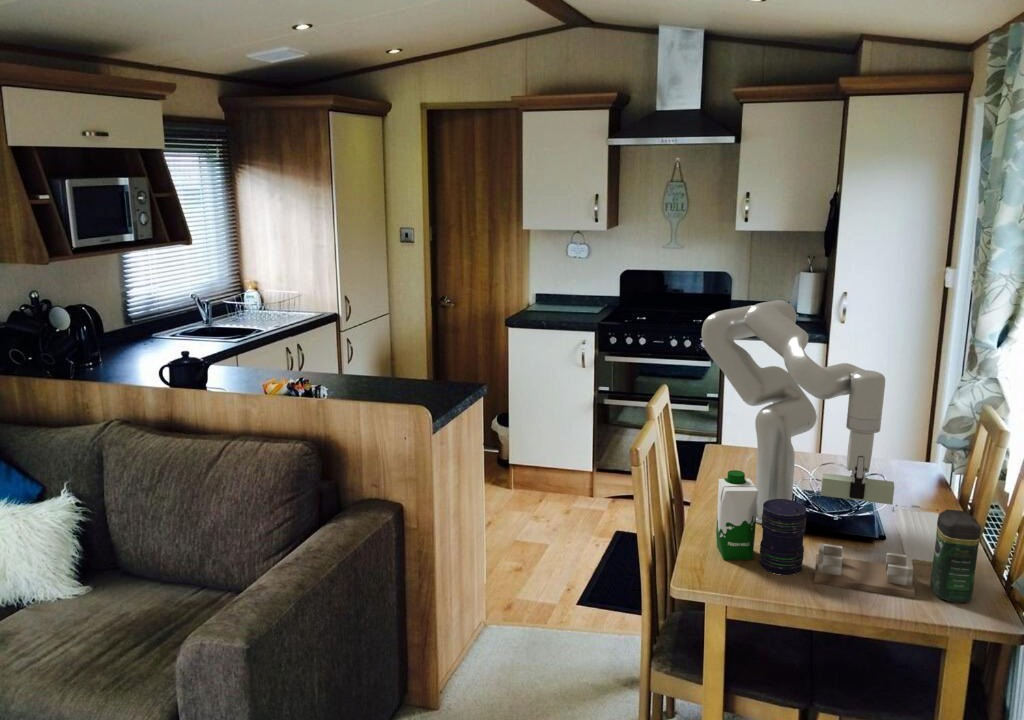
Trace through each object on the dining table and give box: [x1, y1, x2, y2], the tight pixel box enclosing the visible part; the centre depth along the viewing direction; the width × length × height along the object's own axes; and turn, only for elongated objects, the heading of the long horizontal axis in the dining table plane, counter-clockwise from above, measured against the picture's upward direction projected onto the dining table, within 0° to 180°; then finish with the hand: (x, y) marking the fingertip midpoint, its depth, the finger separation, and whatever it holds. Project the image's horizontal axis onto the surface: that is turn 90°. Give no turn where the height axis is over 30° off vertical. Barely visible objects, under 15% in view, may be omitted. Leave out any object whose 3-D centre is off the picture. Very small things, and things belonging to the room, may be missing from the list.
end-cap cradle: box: [814, 543, 915, 599], centre depth 195 cm, size 21×12×6 cm, turn 69°
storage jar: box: [759, 499, 807, 576], centre depth 200 cm, size 10×10×15 cm
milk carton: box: [715, 469, 758, 561], centre depth 206 cm, size 9×9×20 cm
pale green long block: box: [820, 472, 895, 506], centre depth 207 cm, size 16×4×4 cm, turn 69°
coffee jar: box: [929, 508, 982, 604], centre depth 186 cm, size 10×8×19 cm
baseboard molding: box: [892, 504, 939, 566], centre depth 216 cm, size 31×3×12 cm
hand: (856, 494), depth 207 cm, fingers closed on pale green long block, 3 cm apart
